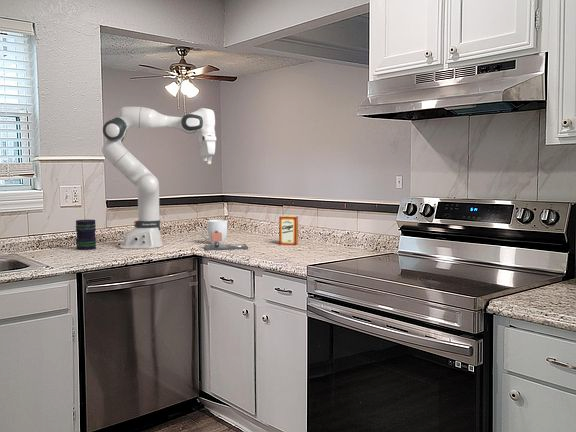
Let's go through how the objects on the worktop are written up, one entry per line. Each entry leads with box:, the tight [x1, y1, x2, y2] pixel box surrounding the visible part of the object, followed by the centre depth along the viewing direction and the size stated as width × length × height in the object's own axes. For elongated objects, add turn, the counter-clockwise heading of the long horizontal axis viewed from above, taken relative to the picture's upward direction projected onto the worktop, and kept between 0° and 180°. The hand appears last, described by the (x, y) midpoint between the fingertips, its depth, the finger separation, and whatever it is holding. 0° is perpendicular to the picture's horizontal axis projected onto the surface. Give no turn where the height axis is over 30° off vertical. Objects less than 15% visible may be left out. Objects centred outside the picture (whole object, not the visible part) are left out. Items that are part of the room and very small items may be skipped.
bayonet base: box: [204, 241, 249, 251], centre depth 299 cm, size 22×12×7 cm, turn 102°
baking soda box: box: [278, 214, 299, 246], centre depth 315 cm, size 10×6×16 cm
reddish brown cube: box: [211, 231, 222, 241], centre depth 298 cm, size 5×5×5 cm
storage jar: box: [75, 219, 97, 251], centre depth 295 cm, size 10×10×15 cm
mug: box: [200, 219, 228, 245], centre depth 316 cm, size 15×11×13 cm
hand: (207, 164), depth 305 cm, fingers open, 8 cm apart
